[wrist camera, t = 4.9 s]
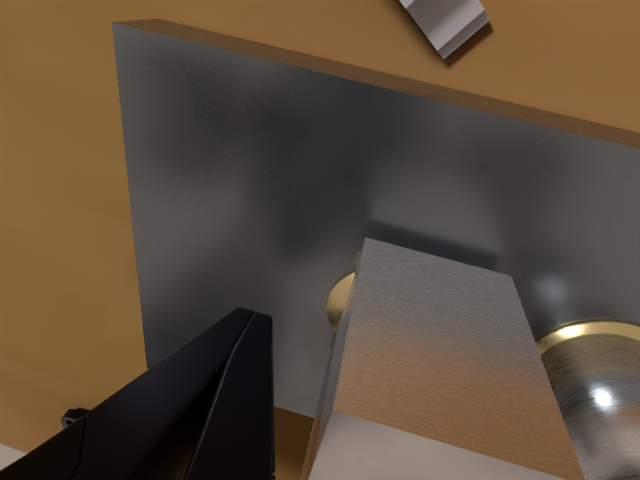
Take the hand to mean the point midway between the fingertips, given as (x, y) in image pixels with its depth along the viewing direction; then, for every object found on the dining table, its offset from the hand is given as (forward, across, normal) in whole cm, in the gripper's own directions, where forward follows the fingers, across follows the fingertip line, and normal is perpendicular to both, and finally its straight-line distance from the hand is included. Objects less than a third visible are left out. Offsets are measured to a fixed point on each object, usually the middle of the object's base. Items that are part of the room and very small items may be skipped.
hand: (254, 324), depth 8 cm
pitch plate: (+3, -3, 0) cm, 4 cm away
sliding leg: (+1, -3, 0) cm, 3 cm away
